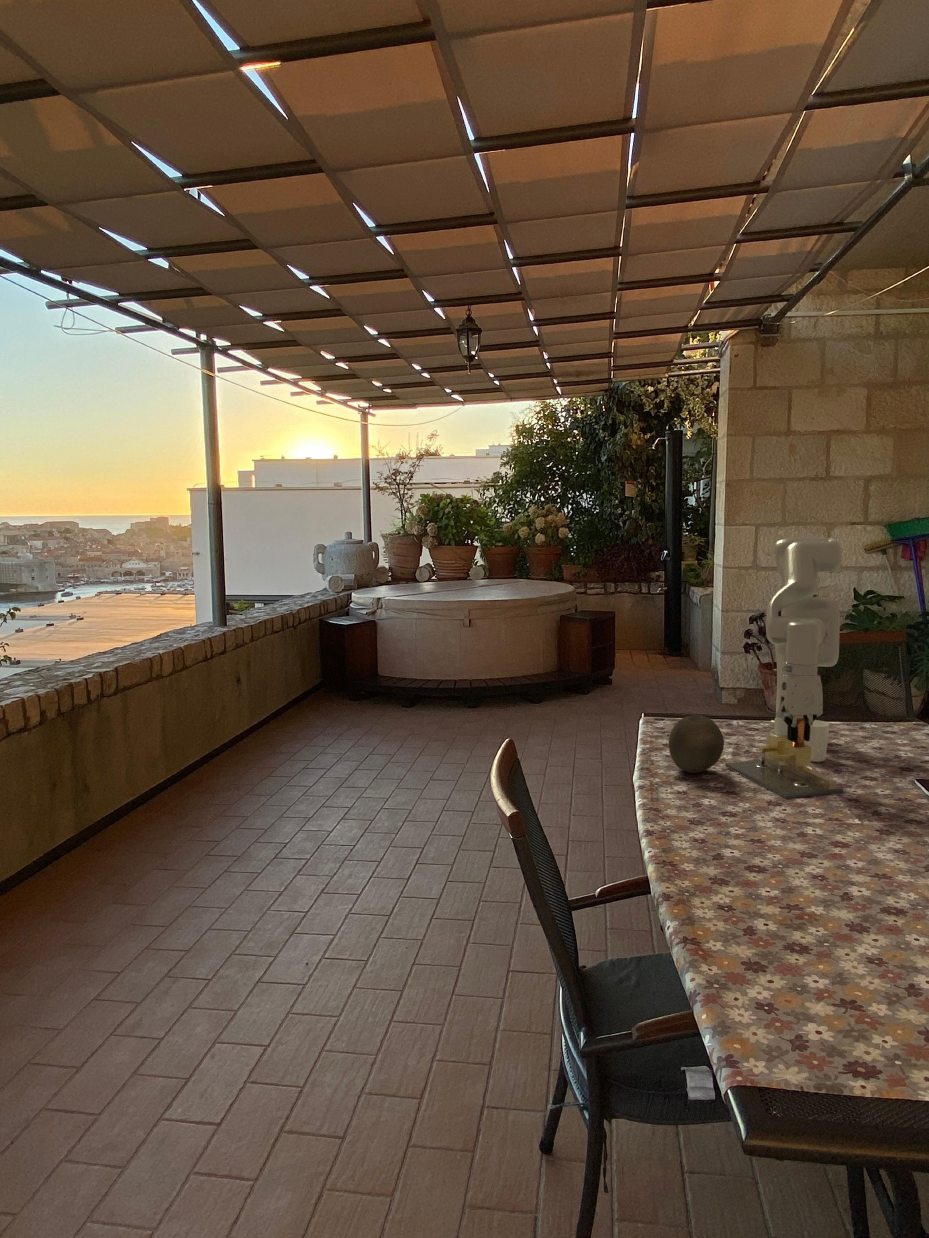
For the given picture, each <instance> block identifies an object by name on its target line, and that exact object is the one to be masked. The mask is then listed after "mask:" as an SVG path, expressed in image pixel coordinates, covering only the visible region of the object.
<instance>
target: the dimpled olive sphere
mask: <svg viewBox="0 0 929 1238" xmlns="http://www.w3.org/2000/svg"><path fill="white" fill-rule="evenodd" d="M724 747H725V739H724V736H723V734H722V731H721V730H720V727H719V726H718V725H717V723H716V722H715V721H714V720H713V719H712V718H709V717H707V716H703V715H688V716H685V717H683V718H681V719H679V720H678V721H677V722H676V723H675V724H674V726H673V727H672V729H671V731H670V734H669V737H668V750H669V755H670V756H671V759H672V761H673V762H674V764H675V765H676V767H677V768H678V769H680V770H681V771H683V772H685V771H686V773H689V772H691V774H696V773H702V772H705V771H707V770H708V769H710V768H711V767H713V766H714V765H716V763H718V761H719V760H720V759H721V757H722V754H723V751H724Z"/></svg>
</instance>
